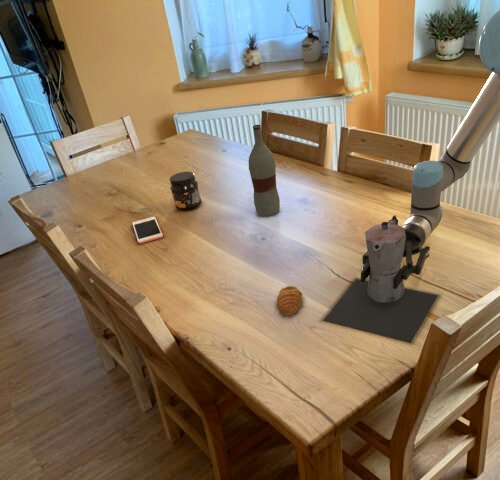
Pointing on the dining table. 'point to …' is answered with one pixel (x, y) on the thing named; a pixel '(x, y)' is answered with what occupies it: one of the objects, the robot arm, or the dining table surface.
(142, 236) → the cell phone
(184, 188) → the supplement container
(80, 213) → the dining table surface
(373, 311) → the mat
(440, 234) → the dining table surface
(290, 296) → the pastry
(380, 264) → the moka pot
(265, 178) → the bottle
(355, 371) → the dining table surface
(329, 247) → the dining table surface
